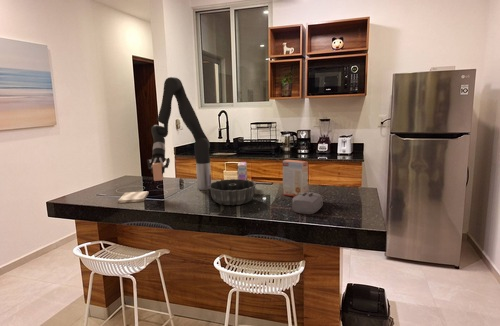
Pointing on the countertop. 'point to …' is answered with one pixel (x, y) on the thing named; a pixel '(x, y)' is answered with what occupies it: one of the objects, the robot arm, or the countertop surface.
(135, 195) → the birch board
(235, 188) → the bundt pan
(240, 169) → the candy box
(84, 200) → the countertop surface
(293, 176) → the cracker box
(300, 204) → the soft grey pack
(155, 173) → the terracotta block
